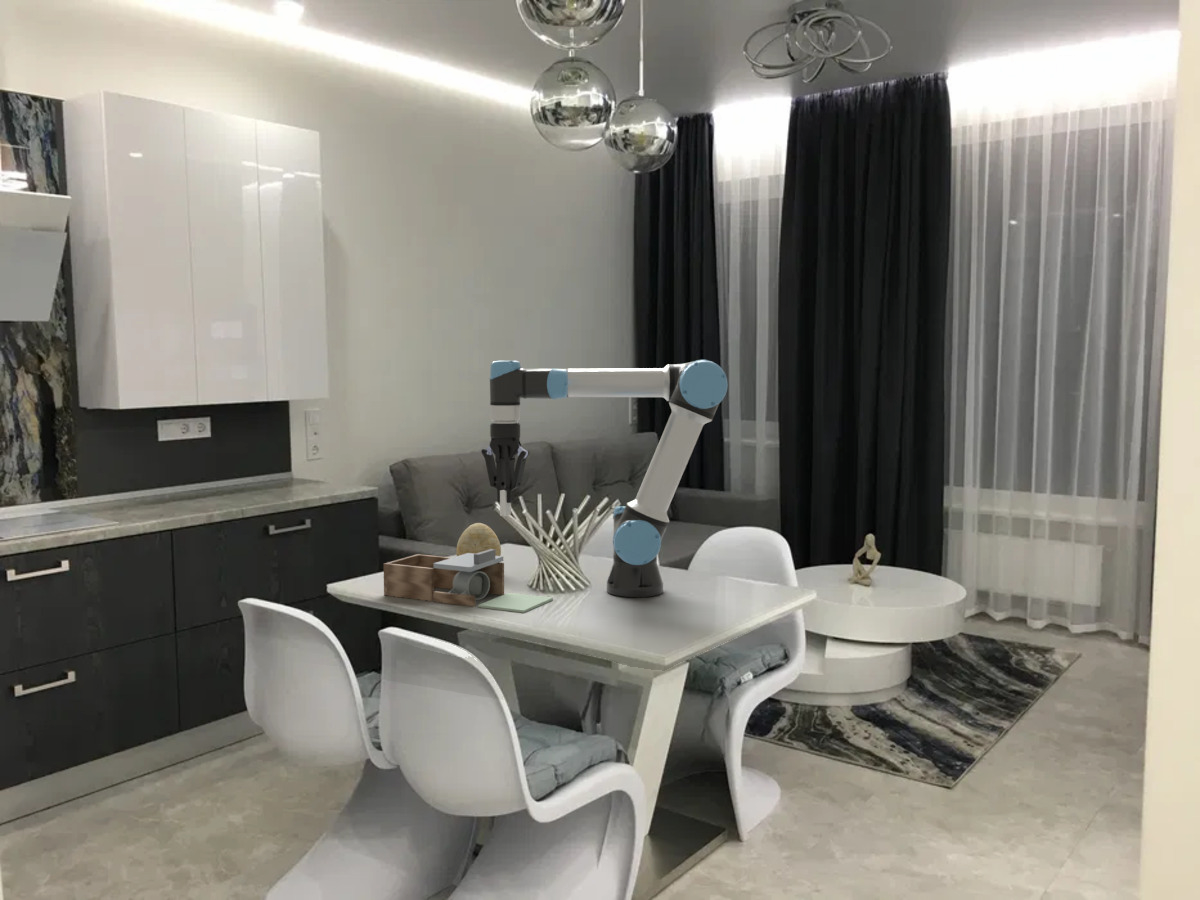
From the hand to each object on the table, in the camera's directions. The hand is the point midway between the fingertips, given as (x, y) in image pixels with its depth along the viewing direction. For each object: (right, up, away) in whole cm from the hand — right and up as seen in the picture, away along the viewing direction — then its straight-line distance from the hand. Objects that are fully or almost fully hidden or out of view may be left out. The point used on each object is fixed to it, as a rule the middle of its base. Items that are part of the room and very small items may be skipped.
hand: (505, 515), depth 252 cm
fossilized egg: (-11, -20, +36) cm, 42 cm away
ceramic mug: (-11, -22, +6) cm, 25 cm away
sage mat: (+3, -22, +1) cm, 23 cm away
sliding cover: (-10, -13, +6) cm, 17 cm away
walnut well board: (-17, -22, +10) cm, 29 cm away
